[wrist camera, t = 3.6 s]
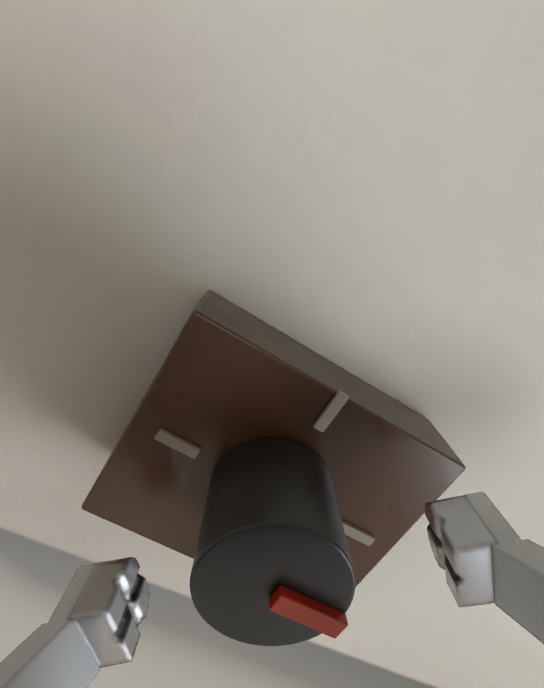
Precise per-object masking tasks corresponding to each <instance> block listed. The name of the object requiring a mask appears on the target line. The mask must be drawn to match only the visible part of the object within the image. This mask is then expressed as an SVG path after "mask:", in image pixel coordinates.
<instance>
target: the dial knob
mask: <svg viewBox="0 0 544 688" xmlns="http://www.w3.org/2000/svg"><path fill="white" fill-rule="evenodd" d="M355 582H356V579H355V572H354V568H353V564H352V559H351V555H350V551H349V547H348V543H347V539H346V535H345V531H344V527H343V523H342V519H341V515H340V511H339V506H338V502H337V498H336V494H335V490H334V486H333V482H332V478H331V475H330V472H329V470H328V468H327V466H326V465H325V463H324V462H323V461H322V460H321V459H320V457H319V456H318V455H316V454H315V453H314V452H313V451H312V450H310V449H308V448H307V447H305V446H303V445H301V444H299V443H296V442H293V441H290V440H285V439H278V438H265V439H258V440H254V441H250V442H247V443H245V444H242V445H240V446H238V447H236V448H235V449H233V450H232V451H230V452H229V453H228V454H227V455H226V456H225V457H223V458H222V460H221V461H220V462H219V463H218V465H217V466H216V468H215V470H214V471H213V474H212V477H211V480H210V485H209V490H208V495H207V499H206V504H205V509H204V514H203V519H202V524H201V528H200V533H199V538H198V543H197V548H196V552H195V557H194V562H193V567H192V572H191V576H190V591H191V596H192V600H193V603H194V605H195V607H196V609H197V611H198V612H199V614H200V615H201V617H202V618H203V619H204V620H205V621H206V622H207V623H208V624H209V625H210V626H212V627H213V628H214V629H215V630H217V631H218V632H220V633H222V634H223V635H225V636H228V637H230V638H232V639H235V640H237V641H240V642H244V643H248V644H253V645H260V646H282V645H290V644H294V643H299V642H302V641H305V640H309V639H311V638H313V637H316V636H318V635H320V634H321V633H323V634H325V635H328V636H330V637H332V638H336V637H337V636H338V635H339V634H340V633H341V632H342V631H343V630H344V629H345V628H346V627H347V626H348V623H347V618H346V614H345V613H346V611H347V610H348V608H349V606H350V604H351V602H352V599H353V596H354V591H355Z"/></svg>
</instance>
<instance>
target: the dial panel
mask: <svg viewBox="0 0 544 688" xmlns="http://www.w3.org/2000/svg"><path fill="white" fill-rule="evenodd" d="M265 438H278V439H285V440H290V441H293V442H296V443H299V444H301V445H303V446H305V447H307V448H308V449H310V450H312V451H313V452H314V453H315V454H316V455H318V456H319V457H320V459H321V460H322V461H323V462H324V463H325V465H326V466H327V468H328V470H329V472H330V475H331V478H332V482H333V486H334V490H335V494H336V498H337V502H338V506H339V511H340V515H341V519H342V523H343V527H344V531H345V535H346V539H347V543H348V547H349V551H350V555H351V559H352V564H353V568H354V572H355V579H356V582H355V587H356V586H357V585H358V584H359V583H360V582H361V581H362V579H363V578H364V577H365V576H366V575H367V574H368V573H369V572H370V571H371V570H372V569H373V568H374V567H375V565H376V564H377V563H378V562H379V561H380V560H381V559H382V558H383V557H384V556H385V555H386V554H387V553H388V551H389V550H390V549H391V548H392V547H393V546H394V545H395V544H396V543H397V542H398V541H399V540H400V539H401V537H402V536H403V535H404V534H405V533H406V532H407V531H408V530H409V529H410V528H411V527H412V526H413V525H414V523H415V522H416V521H417V520H418V519H419V518H420V517H421V516H422V515H423V514H424V513H425V503H427V502H432V501H436V500H437V499H438V498H439V497H440V496H441V494H442V493H443V492H444V491H445V490H446V489H447V488H448V487H449V486H450V485H451V484H452V483H453V482H454V480H455V479H456V478H457V477H458V476H459V475H460V474H461V473H462V472H463V471H464V470H465V466H464V464H463V463H462V462H461V460H460V459H459V458H458V456H457V455H456V454H455V453H454V451H453V450H452V449H451V448H450V446H449V445H448V444H447V442H446V441H445V440H444V439H443V437H442V436H441V435H440V433H439V432H438V431H437V430H436V428H435V427H434V426H433V425H432V423H431V422H430V421H429V420H428V419H426V418H424V417H423V416H421V415H419V414H418V413H416V412H414V411H413V410H411V409H409V408H407V407H406V406H404V405H402V404H401V403H399V402H397V401H396V400H394V399H392V398H391V397H389V396H387V395H386V394H384V393H382V392H381V391H379V390H377V389H376V388H374V387H372V386H371V385H369V384H367V383H365V382H364V381H362V380H360V379H359V378H357V377H355V376H354V375H352V374H350V373H349V372H347V371H345V370H344V369H342V368H340V367H339V366H337V365H335V364H334V363H332V362H330V361H328V360H327V359H325V358H323V357H322V356H320V355H318V354H317V353H315V352H313V351H312V350H310V349H308V348H307V347H305V346H303V345H302V344H300V343H298V342H297V341H295V340H293V339H292V338H290V337H288V336H286V335H285V334H283V333H281V332H280V331H278V330H276V329H275V328H273V327H271V326H270V325H268V324H266V323H265V322H263V321H261V320H260V319H258V318H256V317H255V316H253V315H251V314H250V313H248V312H246V311H244V310H243V309H241V308H239V307H238V306H236V305H234V304H233V303H231V302H229V301H228V300H226V299H224V298H223V297H221V296H219V295H218V294H216V293H214V292H213V291H210V290H209V291H208V292H207V293H206V294H205V296H204V297H203V298H202V300H201V301H200V302H199V304H198V305H197V306H196V308H195V309H194V311H193V312H192V314H191V315H190V317H189V319H188V321H187V322H186V324H185V326H184V328H183V329H182V331H181V333H180V335H179V336H178V338H177V340H176V342H175V343H174V345H173V347H172V349H171V350H170V352H169V354H168V356H167V357H166V359H165V361H164V363H163V364H162V366H161V368H160V370H159V371H158V373H157V375H156V377H155V378H154V380H153V382H152V384H151V385H150V387H149V389H148V391H147V392H146V394H145V396H144V398H143V399H142V401H141V403H140V405H139V406H138V408H137V410H136V412H135V413H134V415H133V417H132V419H131V420H130V422H129V424H128V426H127V427H126V429H125V431H124V433H123V434H122V436H121V438H120V440H119V441H118V443H117V445H116V447H115V448H114V450H113V452H112V454H111V455H110V457H109V459H108V460H107V462H106V464H105V466H104V467H103V469H102V471H101V473H100V474H99V476H98V478H97V480H96V481H95V483H94V485H93V487H92V488H91V490H90V492H89V494H88V495H87V497H86V499H85V501H84V502H83V504H82V509H83V510H85V511H88V512H90V513H92V514H94V515H97V516H99V517H101V518H103V519H106V520H108V521H110V522H112V523H115V524H117V525H119V526H121V527H124V528H126V529H128V530H130V531H133V532H135V533H137V534H139V535H142V536H144V537H146V538H148V539H151V540H153V541H155V542H157V543H160V544H162V545H164V546H166V547H169V548H171V549H173V550H175V551H178V552H180V553H182V554H184V555H187V556H189V557H191V558H193V559H194V557H195V552H196V548H197V543H198V538H199V533H200V528H201V524H202V519H203V514H204V509H205V504H206V499H207V495H208V490H209V485H210V480H211V477H212V474H213V471H214V470H215V468H216V466H217V465H218V463H219V462H220V461H221V460H222V458H223V457H225V456H226V455H227V454H228V453H229V452H230V451H232V450H233V449H235V448H236V447H238V446H240V445H242V444H245V443H247V442H250V441H254V440H258V439H265Z"/></svg>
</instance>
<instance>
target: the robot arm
mask: <svg viewBox="0 0 544 688" xmlns="http://www.w3.org/2000/svg"><path fill="white" fill-rule="evenodd" d="M425 515H426V517H427V519H428V521H429V523H430V524H429V525H428V527H427V531H428V537H429V541H430V545H431V548H432V551H433V554H434V556H435V558H436V561H437V563H438V565H439V566H440V567H441V568H442V569H444V570H445V572H446V580H447V584H448V586H449V588H450V590H451V592H452V594H453V596H454V598H455V600H456V602H457V604H458V606H459V608H460V607H467V606H475V605H482V604H490V603H495V605H496V606H498V607H499V608H500V609H501V610H503V611H504V612H505V613H506V614H507V615H509V616H510V617H511V618H512V619H514V620H515V621H516V622H517V623H519V624H520V625H521V626H522V627H523V628H525V629H526V630H527V631H528V632H530V633H531V634H532V635H533V636H534V637H536V638H537V639H538V640H539V641H541V642H542V643H543V644H544V547H542V546H540V545H538V544H536V543H534V542H532V541H530V540H528V539H526V540H521V539H520V537H519V536H518V535H517V534H516V532H515V531H514V530H513V528H512V527H511V526H510V525H509V523H508V522H507V521H506V519H505V518H504V517H503V516H502V514H501V513H500V512H499V510H498V509H497V508H496V507H495V505H494V504H493V503H492V501H491V500H490V499H489V498H488V496H487V495H486V494H485V493H483V492H477V493H472V494H467V495H463V496H457V497H452V498H447V499H442V500H437V501H432V502H427V503H425ZM139 568H140V566H139V564H138V562H137V560H136V558H132V557H130V558H123V559H117V560H111V561H104V562H99V563H94V564H88V565H82V566H81V567H80V568H78V569H77V570H76V572H75V574H74V576H73V578H72V579H71V581H70V583H69V585H68V587H67V589H66V590H65V592H64V594H63V596H62V598H61V600H60V601H59V603H58V605H57V607H56V609H55V610H54V612H53V614H52V616H51V618H50V620H49V622H48V623H46V624H42V625H41V626H40V627H39V628H38V629H36V630H35V631H34V632H33V633H32V634H31V635H30V636H29V637H28V638H27V639H26V640H24V641H23V642H22V643H21V644H20V645H19V646H18V647H17V648H16V649H15V650H14V651H12V652H11V653H10V654H9V655H8V656H7V657H6V658H5V659H4V660H3V661H2V662H1V663H0V688H88V686H89V685H90V683H91V682H92V681H93V680H94V678H95V677H96V675H97V674H98V673H99V671H100V668H102V667H107V666H112V665H117V664H122V663H127V662H132V660H133V656H134V653H135V650H136V647H137V644H138V640H139V637H140V632H139V629H138V625H139V624H140V623H141V622H142V621H143V620H144V618H145V617H146V614H147V611H148V607H149V597H150V593H149V587H148V583H147V581H146V579H145V578H144V577H142V576H141V575H139V574H138V571H139Z"/></svg>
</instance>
